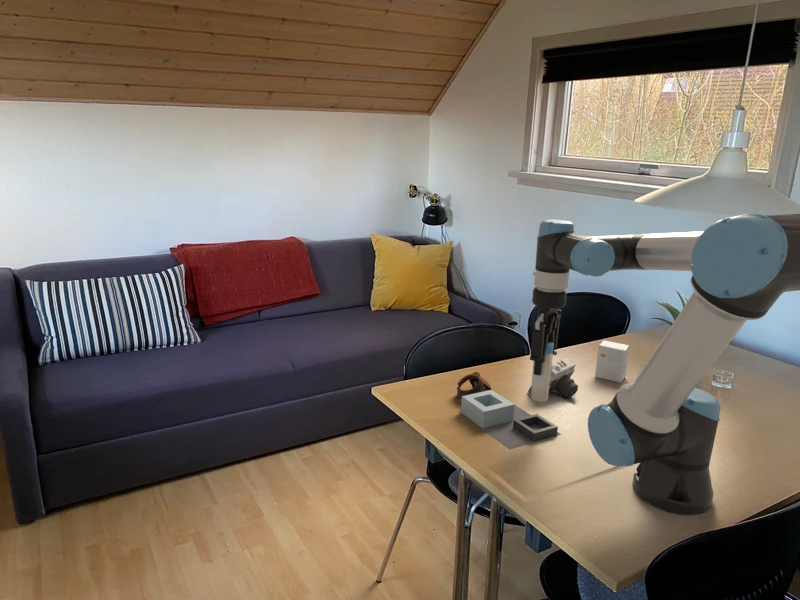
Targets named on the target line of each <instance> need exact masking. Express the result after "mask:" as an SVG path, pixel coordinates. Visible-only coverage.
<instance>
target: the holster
mask: <svg viewBox="0 0 800 600" xmlns="http://www.w3.org/2000/svg"><path fill="white" fill-rule="evenodd" d="M535 424H536V425H538V426H539V427H541V428H542V429H539V430H535V431H534V430H533V429H531V428H530V427H528V426H531V425H535ZM513 428H514V429H515V430H517V431H518V432H520V433H521V434H523V435H524V436H526V437H527V438H528V439H530V440H531V441H533V442H534V441H537V442H539V441H538V440H541V439H544V440H546V439H545V438H548V437H551V438H553V437H552V436H555V435H557V432H559V430H558V429H559V426H557V425H556V424H554V423H553V422H551V421H550V420H547V418H545V417H544V416H541V415H540V414H538V413H535V414H530V416H526V417H523V418H519V419H515V420H514V422H513ZM555 437H556V436H555ZM548 439H549V438H548ZM541 441H542V440H541ZM534 443H535V442H534Z"/></svg>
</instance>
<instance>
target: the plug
mask: <svg viewBox="0 0 800 600" xmlns="http://www.w3.org/2000/svg"><path fill="white" fill-rule="evenodd" d="M553 345H554V344H553V343H552V342H550V341H548V342H547V349H546V355H545V361H546V367H545V377H544V387H543V388H539V387H535V386H532V391H531V396H530V399H532V400H533V401H535V402H541V403H543V402H547V401H548V400H549V393H550V392H549V384H550V374H551V364H553V359H552V356H554V355H553Z"/></svg>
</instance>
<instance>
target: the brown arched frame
mask: <svg viewBox="0 0 800 600" xmlns="http://www.w3.org/2000/svg"><path fill="white" fill-rule="evenodd" d="M467 381H469V383H470V385H471V389H468V390H467V389H466V390H463V389H461V387H462V385H464V384H465V383H466V382H467ZM456 390H457V393H456V396H457V398H458V399H461V400H462V396H466V395H470V394H475V393H479V392H484V391H488V390H493V389H492V387H491V385H490V383H489V382H488V381H487V379H485V378H483V377H481V374H480V373H479V372H478V371H475V372H472V373H470V374H467V375H465V376H463V377H461V378H460V379H459V381H458V382H457V387H456Z"/></svg>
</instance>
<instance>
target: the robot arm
mask: <svg viewBox="0 0 800 600" xmlns="http://www.w3.org/2000/svg"><path fill="white" fill-rule="evenodd" d="M574 227H575V225H574V223H573V222H572V221H569V220H564V219H544V220H542V221H541V222H540V223H539V228H538V234H537V237H536V240H537V241H536V243H537V244H536V253H535V269H534V271H533V272H532V275H533V276H534V279H533V280H534V281H533V285H534V288H533V289H532V290H533V291H532V298H531V299H532V300H531V303H532V304H533V305H535V306H536V307H538V312H537V313H536V317H535V319H536V320H534V319H533V320H532V321H531V329H532V331H531V332H532V333H531V342H530V343H531V347H530V357H529V360H530V361H533V365H532V375H531V383H530V384H531V386H535V387H539V388H543V387H544V377H545V367H546V361H545V355H546V349H547V342H548V341H550V342H552V343H553V344H554V345H553V355H552V360H553V357H554V356H556V355H557V354H558V351H556V350H557V348H558V340H559V331H560V323H561V317H562V313H563V311H562V310H561V309H562V308H564V307H565V306H566V305H567V295H568V292H567V290H566V289H568V287H569V279H570V270H571V271H575V272H576V273H579V274H582V275H583V276H590V277H595V278H596V277H602V276H604V275H605V274H606V273H609V272H612V271H625V270H629V271H630V270H637V271H638V270H640V271H644V270H645V271H650V270H652V271H673V272H675V271H676V272H691V273H692V276H691V278H690V284H691V287H692V289H693V293H692V294H691V296H690V297H689V299H688V300H687V302H686V303H685V304H684V306H683V308H682V309H681V311H680V312H679V314H678V316H677V317H676V319H675V320H674V322H673V323H672V325H671V326H670V328H669V329H668V330H667V332H666V333H665V335H664V337H663V338H662V340H661V341H660V343H659V345H658V346H657V348H656V349H654V350H655V351H653V353H652V355H651V356H650V358H649V359H648V361H647V362H646V364H645V366H644V367H643V369H642V370H641V371H640V373H639V375H638V376H637V378H635V381H634V382H628V383H625V384H623V385H622V386H621V387H620V388H618V391H617V392H616V394H615V395H614V397H613V398H612V399H611V401H610V402H608V403H607V404H604V403H603V404H599V405H598V406H594V408H592V409H591V410H590V412H589V415H588V417H587V431H588V434H589V440H590V442H591V444H592V447H593V448H594V450H595V452H596V453H597V455H598V456H599V458H600V459H602V460H603V461H604V462H605V463H606V464H608V465H610V466H613V467H616V468H618V467H630V466H633V465H637V464H638V465H637V467H636V469H635V470H634V473H633V477H632V478H633V479H632V487H633V489H634V491H635V492H636V494H637V495H638V496H639V497H641V498H642V499H643V500H644V502H647V503H649V504H650V505H652V506H654V507H656V508H659V509H661V510H664V511H665V512H666V511H668V512H671V513H675V514H678V515H679V514H681V515H698V514H703V513H705V512H707V511H708V510H709V509H710V508H711V507H712V504H713V499H714V490H713V485H712V479H711V478H712V477H711V472H710V464H711V458H712V454H713V448H714V444H715V440H716V434H717V429H718V425H719V421H720V420H721V418H720V413H721V405H720V401H719V400H718V399H717V398H716V397H715V396H713V395H712V394H711V393H708V392H707V391H705V390H703V389H700V388H697V386H698V384H699V383H700V382H701V381H702V379H703V378H704V377H705V376H706V374H707V373H708V371H709V370H710V369H711V368H712V366H713V365H714V364H715V363H716V362H717V360H718V359H719V357H720V356H721V355H722V354H723V352H724V351H725V350H726V348H727V347H728V346H729V344H730V343H731V342H732V340H733V339H734V338H735V336H736V335H737V334H738V333H739V332H740V330H741V329H742V327H743V326H744V325H745V323H746V322H747V321H755V320H760V319H763V317H765V315H766V314H767V313H768V311H769V310H770V309H772V307H773V305H774V304H776V302H777V301H778V299H779V298H780V296H781V295H783V294H784V293H787V292H795V291H796V292H797V291H800V213H791V214H790V213H789V214H769V215H768V214H764V215H763V214H759V213H758V214H756V213H744V214H740V215H736V216H730V217H725V218H722V219H720V220H718V221H716V222H714V223H712V224H711V225H709V226H708V227H707V228H706V229H704V230H703V231H687V232H686V231H685V232H684V231H683V232H662V233H660V232H659V233H658V232H657V233H634V234H621V235H620V234H619V235H618V234H617V235H591V236H588V235H581V234H577V233H575V229H574ZM552 364H553V363H552ZM552 364H551V369H552ZM550 378H551V374H550ZM531 386H530V387H531Z"/></svg>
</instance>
